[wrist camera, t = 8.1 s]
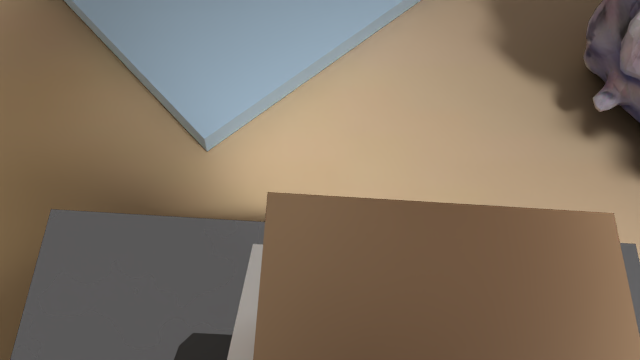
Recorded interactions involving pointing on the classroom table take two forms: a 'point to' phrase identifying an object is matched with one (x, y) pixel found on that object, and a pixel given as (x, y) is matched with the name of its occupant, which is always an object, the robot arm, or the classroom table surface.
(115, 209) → the classroom table surface
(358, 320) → the walnut peg
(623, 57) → the cell model
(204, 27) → the blue board
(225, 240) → the socket block
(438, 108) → the classroom table surface
